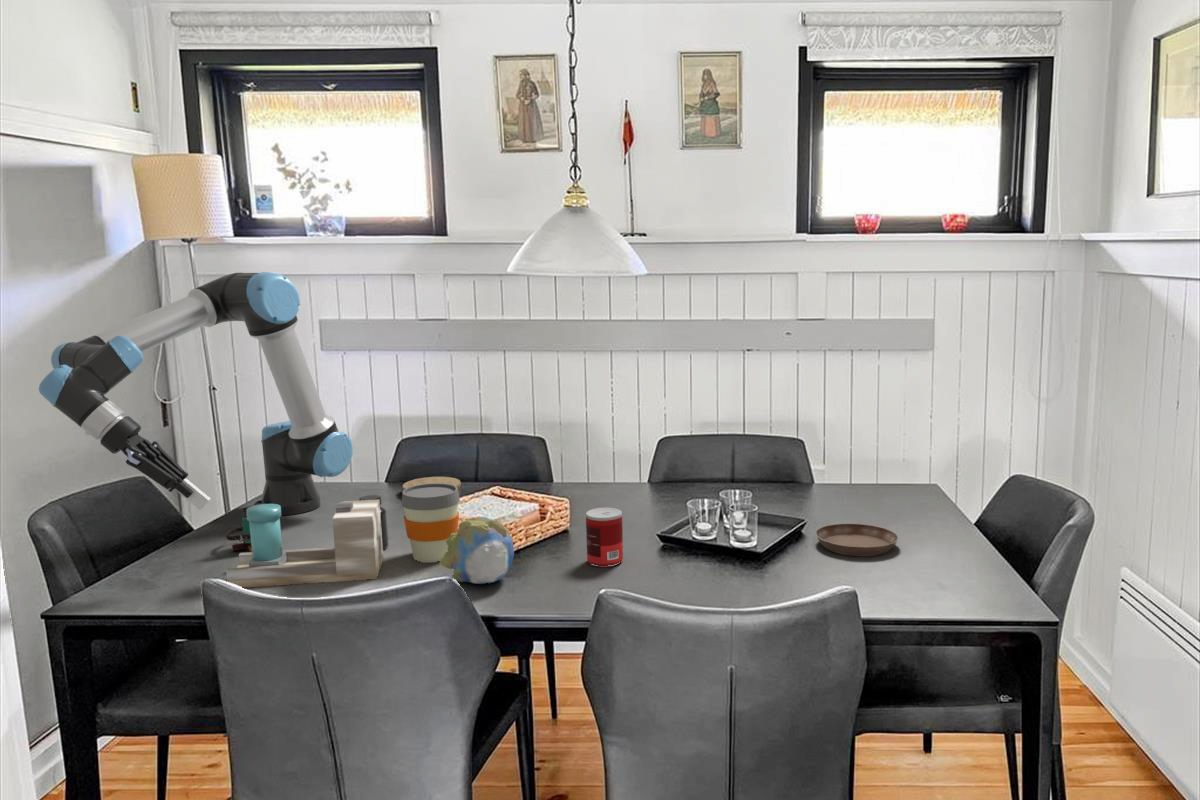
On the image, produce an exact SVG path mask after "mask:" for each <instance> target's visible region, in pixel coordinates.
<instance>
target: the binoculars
mask: <svg viewBox="0 0 1200 800" xmlns="http://www.w3.org/2000/svg"><path fill="white" fill-rule="evenodd" d="M261 504H264V502H263V500H261V499H260V500H257V501H255V502H254V503H253V506H255V505H261ZM247 508H248V507H243V509H242V510H243V512H244V514H245V516H243V517H242V518H241V525H242V526H240V527H236V528H234V529H231V530H229V531H227V533H225V537H226V540H227V541H239V543H236V544H231V547H232V548H231V549H232V551H239V550H244V549H245V550H247V549H248V551H249V552H252V546H251V535H250V524H249V521H248V520H247V513H246V509H247ZM236 533H237V535H234V534H236Z"/></svg>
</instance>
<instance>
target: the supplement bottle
mask: <svg viewBox="0 0 1200 800" xmlns="http://www.w3.org/2000/svg"><path fill="white" fill-rule="evenodd" d="M358 499H359V500H358V501H361V500H379V499H380V515H381V530H382V545H383V551H384V550H386V549H388V547H389V543H390V542H389V528H388V526H389V525H388V513H387V510H386V509H385V507H383V506H382V504H383V503H382V496H381V495H378V494H369V495H368V494H366V495H364V496H361V497H359V498H358Z"/></svg>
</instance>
